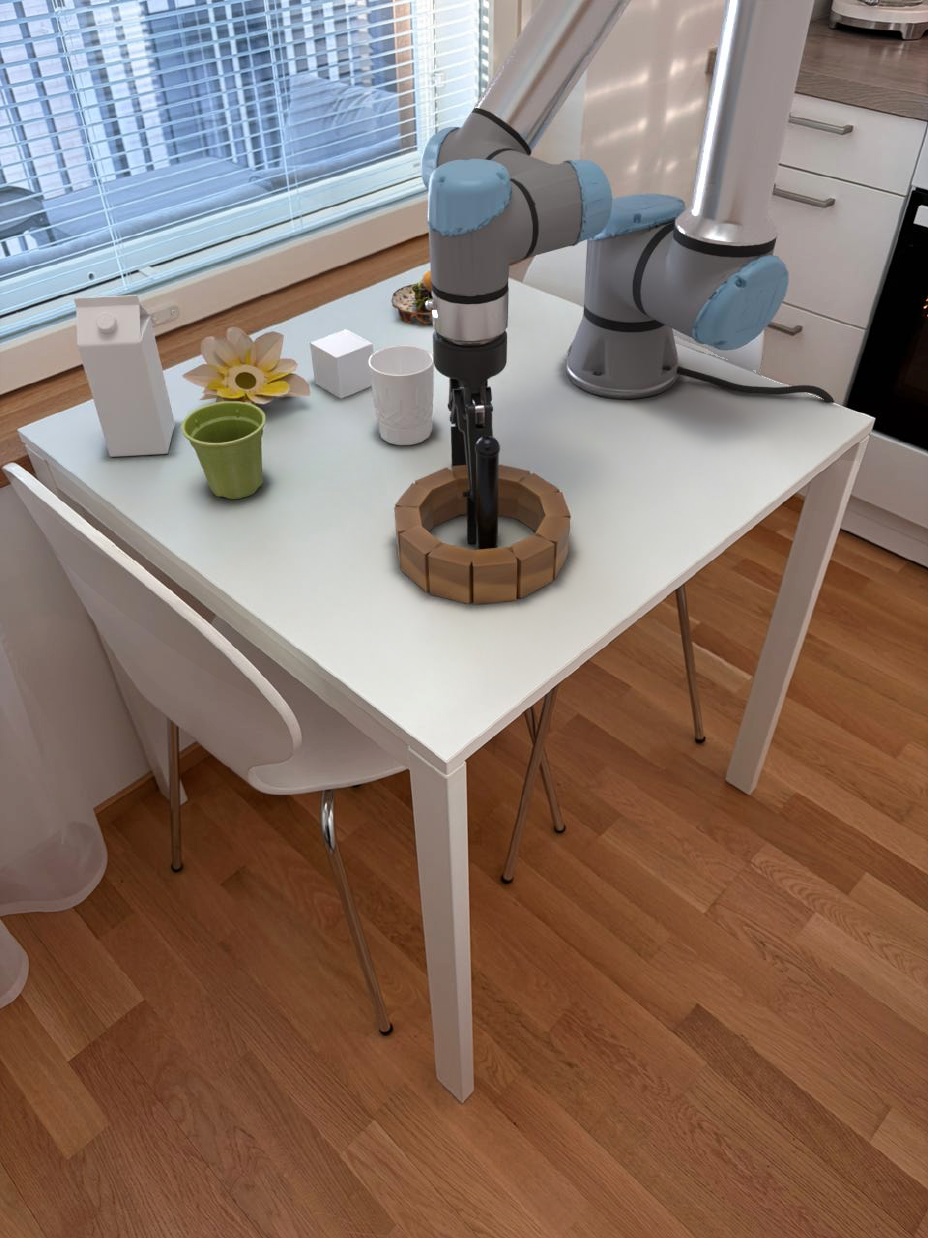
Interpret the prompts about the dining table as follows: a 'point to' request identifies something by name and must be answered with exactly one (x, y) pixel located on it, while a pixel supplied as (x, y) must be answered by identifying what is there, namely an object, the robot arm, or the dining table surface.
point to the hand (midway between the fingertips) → (471, 506)
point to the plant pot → (228, 446)
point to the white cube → (342, 363)
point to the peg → (487, 492)
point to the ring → (484, 569)
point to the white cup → (403, 393)
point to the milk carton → (124, 374)
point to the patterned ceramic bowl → (414, 300)
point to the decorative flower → (246, 369)
